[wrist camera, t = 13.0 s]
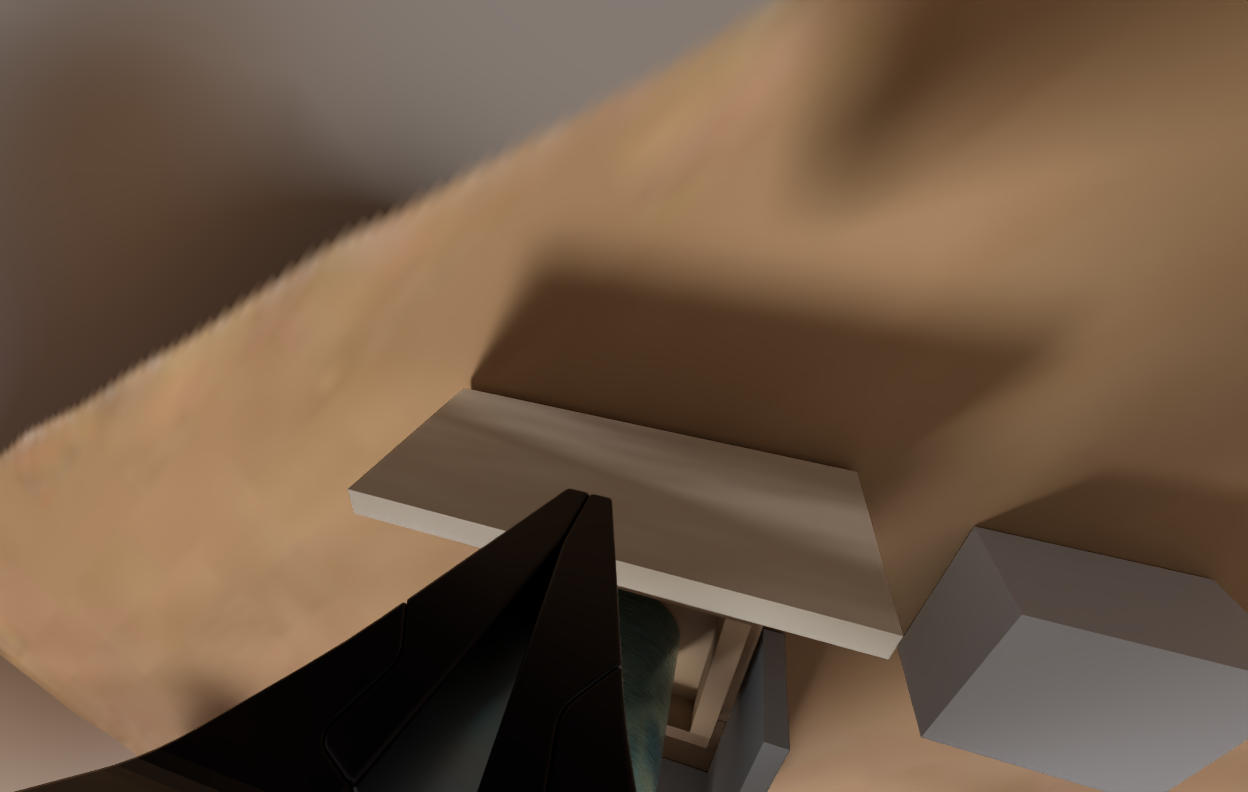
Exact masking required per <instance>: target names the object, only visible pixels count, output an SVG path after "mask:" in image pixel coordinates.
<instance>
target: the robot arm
mask: <svg viewBox="0 0 1248 792" xmlns="http://www.w3.org/2000/svg"><path fill="white" fill-rule="evenodd" d="M621 668H622V656H621V639H620V622H619V606H618V589H617V572H616V556H615V539H614V522H613V506H612V500H611V498H608V497H604V496H600V495H596V494H591V495H590V496H589V494H588V493H587V492H584V491H580V490H576V489H571V488H570V489H566V490H565V491H563V492H562V493H560V494H559V495H557V496H556V497H554V498H553V499H552V500H550V501H549V502H547V503H546V504H544V505H543V506H541V507H540V508H539V509H537V510H536V511H534V512H533V513H531V514H530V515H528V516H527V517H526V518H524V519H523V520H521V521H520V522H518V523H517V524H515V525H514V526H513V527H511V528H510V529H508V530H507V531H505V532H504V533H503V534H501V535H500V536H498V537H497V538H495V539H494V540H492V541H491V542H490V543H488V544H487V545H485V546H484V547H482V548H481V549H479V550H478V551H477V552H475V553H474V554H472V555H471V556H469V557H468V558H466V559H465V560H464V561H462V562H461V563H459V564H458V565H456V566H455V567H453V568H452V569H451V570H449V571H448V572H446V573H445V574H443V575H442V576H441V577H439V578H438V579H436V580H435V581H433V582H432V583H430V584H429V585H428V586H426V587H425V588H423V589H422V590H420V591H419V592H417V593H416V594H415V595H413V596H412V597H410V598H409V599H408V600H407V604H406V603H401V604H400V605H398V606H397V607H395V608H394V609H393V610H391V611H390V612H388V613H387V614H385V615H384V616H382V617H381V618H380V619H378V620H377V621H375V622H373V623H372V624H370V625H369V626H367V627H366V628H364V629H363V630H361V631H360V632H358V633H357V634H355V635H354V636H352V637H351V638H349V639H348V640H346V641H345V642H343V643H341V644H340V645H338V646H336V647H335V648H333V649H331V650H330V651H328V652H326V653H325V654H323V655H322V656H320V657H318V658H317V659H315V660H313V661H312V662H310V663H308V664H307V665H305V666H303V667H302V668H300V669H298V670H296V671H295V672H293V673H291V674H290V675H288V676H286V677H284V678H283V679H281V680H279V681H277V682H276V683H274V684H272V685H271V686H269V687H267V688H265V689H264V690H262V691H260V692H258V693H257V694H255V695H253V696H252V697H250V698H248V699H246V700H245V701H243V702H241V703H239V704H238V705H236V706H234V707H233V708H231V709H229V710H227V711H226V712H224V713H222V714H220V715H219V716H217V717H215V718H214V719H212V720H210V721H208V722H207V723H205V724H203V725H202V726H200V727H198V728H196V729H194V730H192V731H191V732H189V733H187V734H185V735H183V736H181V737H180V738H178V739H176V740H173V741H171V742H169V743H167V744H165V745H163V746H161V747H159V748H157V749H154V750H152V751H149V752H147V753H145V754H142V755H140V756H137V757H135V758H132V759H129V760H127V761H124V762H121V763H118V764H115V765H112V766H109V767H105V768H102V769H98V770H94V771H90V772H87V773H83V774H79V775H75V776H72V777H68V778H64V779H60V780H57V781H53V782H49V783H45V784H42V785H38V786H34V787H30V788H27V789H23V790H19V791H15V792H637V790H636V784H635V778H634V772H633V765H632V759H631V753H630V746H629V740H628V732H627V721H626V711H625V700H624V685H623V671H622V669H621Z"/></svg>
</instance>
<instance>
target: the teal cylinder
mask: <svg viewBox="0 0 1248 792" xmlns="http://www.w3.org/2000/svg"><path fill="white" fill-rule="evenodd" d="M618 606H619V622H620V639H621V656H622V668H621V669H622V671H623V685H624V700H625V711H626V721H627V732H628V740H629V746H630V753H631V759H632V765H633V772H634V778H635V784H636V790H637V792H657V785H658V779H659V773H660V766H661V760H662V753H663V747H664V740H665V734H666V728H667V721H668V715H669V708H670V702H671V695H672V689H673V683H674V676H675V670H676V663H677V657H678V650H679V644H680V631H679V627H678V625H677V622H676V620H675V619H674V617H673V616H672V614H671V613H670V612H669V611H668V610H667V609H666V608H665V607H664V605H662V604H661V603H660V602H659V601H658V600H656V599H653V598H650V597H646V596H642V595H639V594H635V593H632V592H628V591H624V590H621V589H618Z"/></svg>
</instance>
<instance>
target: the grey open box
mask: <svg viewBox="0 0 1248 792" xmlns="http://www.w3.org/2000/svg"><path fill="white" fill-rule="evenodd" d="M789 751H790V742H789V721H788V700H787V678H786V657H785V636H784V634H781V633H778V632H774V631H770V630H767V629H763V630H762V633H761V635H760V638H759V641H758V643H757V646H756V648H755V651H754V654H753V656H752V659H751V661H750V664H749V666H748V669H747V672H746V674H745V677H744V679H743V682H742V685H741V687H740V690H739V692H738V695H737V697H736V700H735V703H734V705H733V708H732V710H731V713H730V716H729V718H728V721H727V723H726V726H725V728H724V731H723V734H722V736H721V739H720V741H719V744H718V747H717V749H716V752H715V754H714V757H713V759H712V762H711V765H710V767H709V770H708V772H704V771H701V770H698V769H695V768H692V767H689V766H686V765H683V764H680V763H677V762H674V761H671V760H668V759H665V758H662V760H661V766H660V773H659V779H658V785H657V792H767V791H768V789H769V787H770V785H771V783H772V782H773V780H774V778H775V776H776V774H777V773H778V771H779V769H780V767H781V765H782V764H783V762H784V760H785V758H786V756H787V754H788V753H789Z"/></svg>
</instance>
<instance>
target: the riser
mask: <svg viewBox="0 0 1248 792" xmlns="http://www.w3.org/2000/svg"><path fill="white" fill-rule="evenodd" d="M897 648H898V651H899V655H900V659H901V663H902V667H903V670H904V674H905V678H906V682H907V686H908V689H909V693H910V697H911V701H912V705H913V708H914V712H915V716H916V720H917V723H918V727H919V731H920V735H921V737H922V738H925V739H929V740H932V741H935V742H939V743H942V744H946V745H949V746H952V747H956V748H959V749H962V750H966V751H969V752H973V753H976V754H979V755H983V756H986V757H989V758H993V759H996V760H1000V761H1003V762H1006V763H1010V764H1013V765H1016V766H1020V767H1023V768H1027V769H1030V770H1033V771H1037V772H1040V773H1043V774H1047V775H1050V776H1053V777H1057V778H1060V779H1064V780H1067V781H1070V782H1074V783H1077V784H1080V785H1084V786H1087V787H1091V788H1094V789H1097V790H1101V791H1104V792H1167V791H1169V790H1170V789H1172V788H1173V787H1175V786H1177V785H1178V784H1180V783H1181V782H1183V781H1184V780H1186V779H1187V778H1189V777H1190V776H1192V775H1193V774H1195V773H1197V772H1198V771H1200V770H1201V769H1203V768H1204V767H1206V766H1207V765H1209V764H1210V763H1212V762H1213V761H1215V760H1217V759H1218V758H1220V757H1221V756H1223V755H1224V754H1226V753H1227V752H1229V751H1230V750H1232V749H1233V748H1235V747H1237V746H1238V745H1240V744H1241V743H1243V742H1244V741H1246V740H1247V739H1248V613H1247V612H1246V611H1245V610H1244V609H1243V608H1242V607H1241V606H1240V605H1239V604H1238V603H1237V602H1236V601H1235V600H1234V599H1233V598H1232V597H1231V596H1230V595H1229V594H1228V593H1227V592H1226V591H1225V590H1224V589H1223V588H1222V587H1221V586H1220V585H1219V584H1218V583H1217V582H1216V581H1215V580H1213V579H1208V578H1204V577H1199V576H1195V575H1190V574H1186V573H1181V572H1177V571H1172V570H1168V569H1163V568H1159V567H1154V566H1150V565H1145V564H1141V563H1136V562H1132V561H1127V560H1123V559H1118V558H1114V557H1109V556H1105V555H1101V554H1096V553H1092V552H1087V551H1083V550H1078V549H1074V548H1069V547H1065V546H1060V545H1056V544H1051V543H1047V542H1042V541H1038V540H1033V539H1029V538H1024V537H1020V536H1015V535H1011V534H1006V533H1002V532H997V531H993V530H988V529H984V528H979V527H975V526H974V528H973V529H972V531H971V533H970V534H969V536H968V537H967V539H966V540H965V542H964V543H963V545H962V547H961V548H960V550H959V551H958V553H957V554H956V556H955V557H954V559H953V561H952V562H951V564H950V565H949V567H948V568H947V570H946V571H945V573H944V575H943V576H942V578H941V579H940V581H939V582H938V584H937V585H936V587H935V589H934V590H933V592H932V593H931V595H930V596H929V598H928V599H927V601H926V603H925V604H924V606H923V607H922V609H921V610H920V612H919V613H918V615H917V617H916V618H915V620H914V621H913V623H912V624H911V626H910V627H909V629H908V631H907V632H906V634H905V635H904V637H903V638H902V640H901V641H900V643H899V645H898V646H897Z"/></svg>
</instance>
